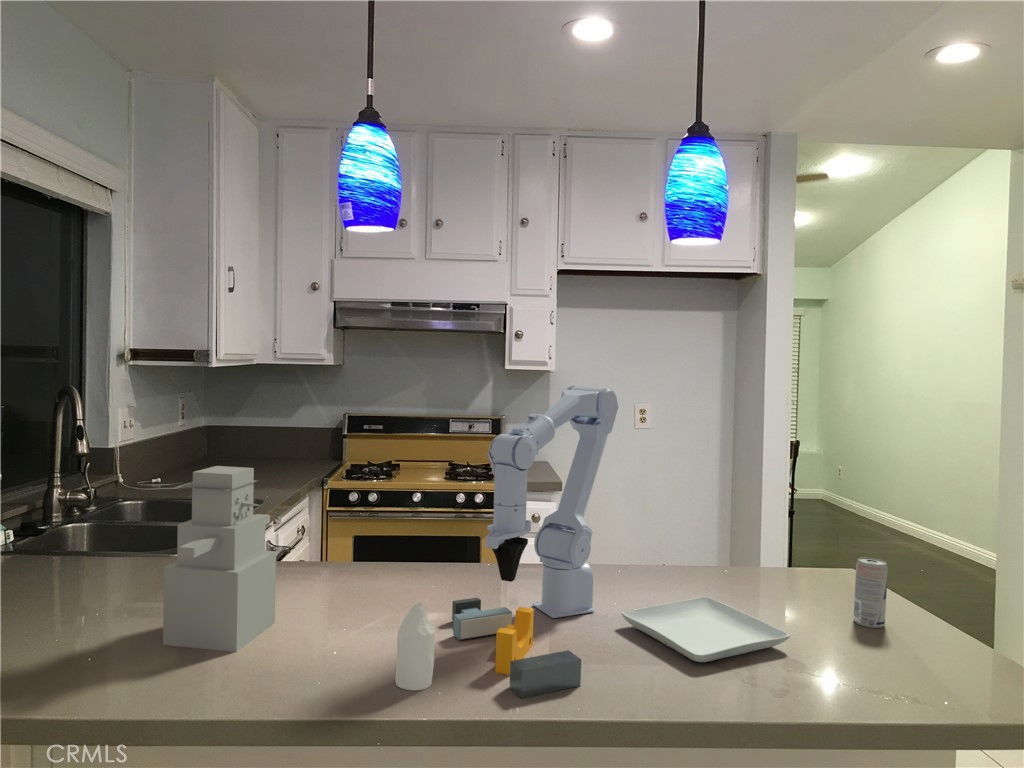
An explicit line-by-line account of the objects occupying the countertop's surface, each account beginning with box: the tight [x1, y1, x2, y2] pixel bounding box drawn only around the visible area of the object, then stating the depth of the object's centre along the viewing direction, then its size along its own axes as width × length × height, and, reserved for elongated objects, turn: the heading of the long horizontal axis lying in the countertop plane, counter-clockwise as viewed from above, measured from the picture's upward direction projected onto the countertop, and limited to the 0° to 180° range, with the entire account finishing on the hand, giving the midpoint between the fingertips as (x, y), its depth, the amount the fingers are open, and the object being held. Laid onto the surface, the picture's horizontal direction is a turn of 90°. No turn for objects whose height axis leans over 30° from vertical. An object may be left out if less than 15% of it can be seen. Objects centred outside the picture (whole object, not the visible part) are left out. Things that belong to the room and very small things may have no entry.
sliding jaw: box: [451, 597, 513, 641], centre depth 128 cm, size 10×10×4 cm
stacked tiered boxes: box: [162, 465, 277, 653], centre depth 122 cm, size 13×24×28 cm, turn 171°
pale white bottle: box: [395, 601, 436, 691], centre depth 107 cm, size 6×12×6 cm
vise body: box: [509, 650, 582, 699], centre depth 107 cm, size 10×4×4 cm, turn 117°
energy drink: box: [853, 557, 889, 629], centre depth 137 cm, size 5×5×12 cm
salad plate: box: [620, 595, 791, 663], centre depth 127 cm, size 21×21×3 cm
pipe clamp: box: [495, 606, 535, 676], centre depth 116 cm, size 12×4×6 cm, turn 163°
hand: (507, 579), depth 126 cm, fingers closed
